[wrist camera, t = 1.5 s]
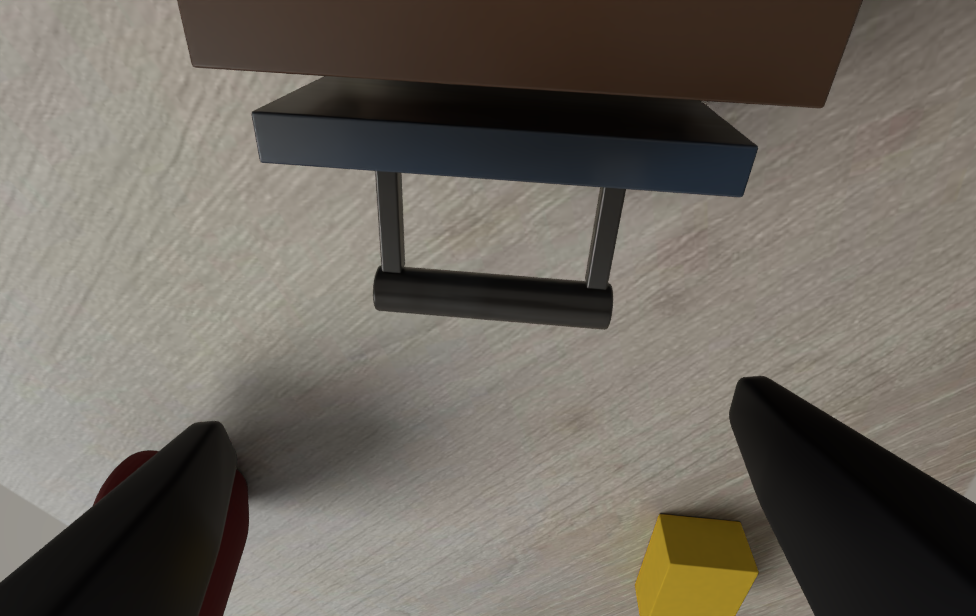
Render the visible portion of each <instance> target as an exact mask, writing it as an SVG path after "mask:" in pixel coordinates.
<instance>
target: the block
mask: <svg viewBox="0 0 976 616" xmlns="http://www.w3.org/2000/svg"><path fill="white" fill-rule="evenodd" d="M758 573H759V571H758V569H757V566H756V563H755V560H754V558H753V555H752V552H751V550H750V547H749V544H748V541H747V539H746V536H745V533H744V530H743V528H742V525H741V522H736V521H726V520H716V519H705V518H695V517H685V516H675V515H664V514H659V516H658V519H657V522H656V525H655V527H654V530H653V533H652V536H651V539H650V542H649V545H648V548H647V551H646V554H645V557H644V560H643V563H642V566H641V568H640V571H639V574H638V577H637V580H636V583H635V589H636V596H637V602H638V608H639V615H640V616H735V615H736V614H737V612H738V610H739V608H740V606H741V604H742V603H743V601H744V599H745V597H746V595H747V593H748V592H749V590H750V588H751V586H752V584H753V582H754V581H755V579H756V577H757V575H758Z"/></svg>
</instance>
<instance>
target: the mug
mask: <svg viewBox="0 0 976 616" xmlns="http://www.w3.org/2000/svg"><path fill="white" fill-rule="evenodd" d="M158 452H159V451H151V450H148V451H141V452H137V453H135V454H133V455H131V456H129V457H128V458H126V459H125V460H124V461H123V462H121V463H120V464H119V465H118V466H117V467H116V468H115V469H114V471H113V472H112V473H111V474H110V475H109V477H108V478H107V479H106V481H105V482H104V484H103V485H102V487H101V489H100V491H99V493H98V495H97V497H96V499H95V502H94V504H93V506H94V505H95V504H96V503H97V502H98V501H100V500H101V499H102V498H103V497H104V496H106V495H107V494H108V493H109V492H111V491H112V490H113V489H114V488H115V487H117V486H118V485H119V484H120V483H121V482H123V481H124V480H125V479H126V478H127V477H129V476H130V475H131V474H132V473H134V472H135V471H136V470H137V469H138V468H140V467H141V466H142V465H143V464H144V463H146V462H147V461H148V460H149V459H150V458H152V457H153V456H154V455H155V454H156V453H158ZM248 528H249V504H248V487H247V483H246V480H245V478H244V477H243V475H242V474H241V473H240V472H239V471H238V470H237V469H236V472H235V477H234V482H233V487H232V492H231V496H230V501H229V506H228V511H227V516H226V521H225V526H224V531H223V535H222V540H221V544H220V548H219V552H218V555H217V559H216V562H215V565H214V569H213V572H212V575H211V578H210V581H209V584H208V587H207V590H206V593H205V596H204V600H203V603H202V606H201V609H200V612H199V615H198V616H223V614H224V611H225V608H226V604H227V601H228V598H229V595H230V592H231V588H232V585H233V582H234V579H235V576H236V572H237V569H238V566H239V563H240V559H241V556H242V553H243V550H244V547H245V543H246V539H247V535H248Z"/></svg>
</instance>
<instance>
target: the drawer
mask: <svg viewBox="0 0 976 616" xmlns="http://www.w3.org/2000/svg"><path fill="white" fill-rule="evenodd" d="M252 120H253V125H254V131H255V136H256V142H257V147H258V153H259V158H260V161H261V162H262V163H273V164H287V165H301V166H315V167H329V168H342V169H356V170H370V171H375V176H376V191H377V206H378V221H379V236H380V251H381V266H379V267H378V269H377V271H376V274H375V278H374V285H373V301H374V306H375V308H376V310H378V311H388V312H400V313H412V314H424V315H436V316H448V317H460V318H472V319H484V320H496V321H508V322H520V323H532V324H544V325H556V326H568V327H580V328H592V329H604V330H605V329H607V328H608V326H609V324H610V321H611V316H612V309H613V290H612V286H611V284H609V283H608V280H609V275H610V270H611V265H612V260H613V254H614V249H615V244H616V239H617V234H618V228H619V223H620V218H621V213H622V208H623V202H624V197H625V192H626V189H632V190H646V191H660V192H673V193H687V194H701V195H715V196H728V197H742V196H743V195H744V191H745V188H746V185H747V182H748V179H749V176H750V172H751V169H752V166H753V163H754V160H755V157H756V153H757V150H758V146H757V145H756V144H754V143H753V142H752V141H751V140H749V139H748V138H747V137H746V136H744V135H743V134H742V133H740V132H739V131H738V130H737V129H735V128H734V127H733V126H732V125H730V124H729V123H728V122H727V121H725V120H724V119H723V118H722V117H720V116H719V115H718V114H717V113H715V112H714V111H713V110H711V109H710V108H709V107H708V106H706V105H705V104H704V103H703V102H701V101H700V100H685V99H670V98H654V97H639V96H624V95H609V94H593V93H578V92H563V91H547V90H532V89H517V88H501V87H486V86H471V85H455V84H440V83H425V82H410V81H394V80H379V79H364V78H348V77H333V76H324V77H322V78H320V79H318V80H316V81H314V82H312V83H310V84H308V85H305V86H303V87H301V88H299V89H297V90H295V91H293V92H291V93H289V94H287V95H285V96H283V97H281V98H279V99H277V100H275V101H273V102H271V103H269V104H267V105H265V106H262V107H260V108H258V109H256V110H254V111H252ZM402 173H411V174H425V175H439V176H453V177H466V178H480V179H494V180H508V181H522V182H535V183H549V184H563V185H577V186H591V187H600V191H599V198H598V204H597V210H596V216H595V222H594V228H593V234H592V240H591V246H590V252H589V258H588V264H587V270H586V276H585V280H586V281H576V280H563V279H551V278H538V277H526V276H513V275H501V274H488V273H475V272H463V271H450V270H438V269H425V268H413V267H404V265H405V249H404V224H403V199H402Z"/></svg>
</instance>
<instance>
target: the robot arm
mask: <svg viewBox="0 0 976 616" xmlns="http://www.w3.org/2000/svg"><path fill="white" fill-rule="evenodd" d="M729 419H730V424H731V427H732V430H733V432H734V435H735V438H736V441H737V443H738V446H739V449H740V452H741V454H742V457H743V460H744V462H745V465H746V468H747V471H748V473H749V476H750V479H751V482H752V484H753V487H754V490H755V492H756V495H757V498H758V500H759V503H760V505H761V507H762V509H763V511H764V513H765V516H766V518H767V520H768V522H769V524H770V526H771V528H772V530H773V532H774V534H775V536H776V538H777V540H778V542H779V544H780V546H781V548H782V550H783V552H784V554H785V556H786V558H787V560H788V562H789V564H790V566H791V568H792V570H793V572H794V574H795V576H796V578H797V580H798V582H799V584H800V586H801V589H802V591H803V593H804V595H805V597H806V599H807V601H808V603H809V605H810V607H811V609H812V611H813V613H814V615H815V616H976V504H975V503H974V502H972V501H970V500H969V499H967V498H965V497H964V496H962V495H960V494H959V493H957V492H956V491H954V490H952V489H951V488H949V487H947V486H946V485H944V484H942V483H941V482H939V481H937V480H936V479H934V478H932V477H931V476H929V475H927V474H926V473H924V472H923V471H921V470H919V469H918V468H916V467H914V466H913V465H911V464H909V463H908V462H906V461H904V460H903V459H901V458H899V457H898V456H896V455H895V454H893V453H891V452H890V451H888V450H886V449H885V448H883V447H881V446H880V445H878V444H876V443H875V442H873V441H871V440H870V439H868V438H867V437H865V436H863V435H862V434H860V433H858V432H857V431H855V430H853V429H852V428H850V427H848V426H847V425H845V424H843V423H842V422H840V421H838V420H837V419H835V418H834V417H832V416H830V415H829V414H827V413H825V412H824V411H822V410H820V409H819V408H817V407H815V406H814V405H812V404H810V403H809V402H807V401H806V400H804V399H802V398H801V397H799V396H797V395H796V394H794V393H792V392H791V391H789V390H787V389H786V388H784V387H782V386H781V385H779V384H777V383H776V382H774V381H773V380H771V379H769V378H767V377H765V376H753V377H743V378H741V379H740V380H739V381H738V382H737V385H736V389H735V392H734V396H733V400H732V403H731V407H730V411H729ZM236 467H237V455H236V452H235V449H234V447H233V445H232V443H231V441H230V439H229V437H228V435H227V432H226V430H225V428H224V426H223V425H222V424H221V423H220V422H219V421H207V422H197V423H194V424H192V425H191V426H189V427H188V428H187V429H186V430H184V431H183V432H182V433H181V434H179V435H178V436H177V437H176V438H175V439H173V440H172V441H171V442H170V443H169V444H167V445H166V446H165V447H164V448H163V449H161V450H160V451H159V452H158V453H156V454H155V455H154V456H153V457H152V458H150V459H149V460H148V461H147V462H146V463H144V464H143V465H142V466H141V467H140V468H138V469H137V470H136V471H135V472H134V473H132V474H131V475H130V476H129V477H127V478H126V479H125V480H124V481H123V482H121V483H120V484H119V485H118V486H117V487H115V488H114V489H113V490H112V491H111V492H109V493H108V494H107V495H106V496H104V497H103V498H102V499H101V500H100V501H98V502H97V503H96V504H95V505H94V506H92V507H91V508H90V509H89V510H88V511H86V512H85V513H84V514H83V515H81V516H80V517H79V518H78V519H77V520H75V521H74V522H73V523H72V524H71V525H69V526H68V527H67V528H66V529H65V530H63V531H62V532H61V533H60V534H59V535H57V536H56V537H55V538H54V539H52V540H51V541H50V542H49V543H48V544H46V545H45V546H44V547H43V548H42V549H40V550H39V551H38V552H37V553H35V554H34V555H33V556H32V557H31V558H30V559H28V560H27V561H26V562H25V563H23V564H22V565H21V566H20V567H19V568H17V569H16V570H15V571H14V572H12V573H11V574H10V575H9V576H8V577H6V578H5V579H4V580H3V581H2V582H0V616H198V615H199V612H200V609H201V606H202V603H203V600H204V596H205V593H206V590H207V587H208V584H209V581H210V578H211V575H212V572H213V569H214V565H215V562H216V559H217V555H218V552H219V548H220V544H221V540H222V535H223V531H224V526H225V521H226V516H227V511H228V506H229V501H230V496H231V492H232V487H233V482H234V477H235V472H236Z"/></svg>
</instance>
